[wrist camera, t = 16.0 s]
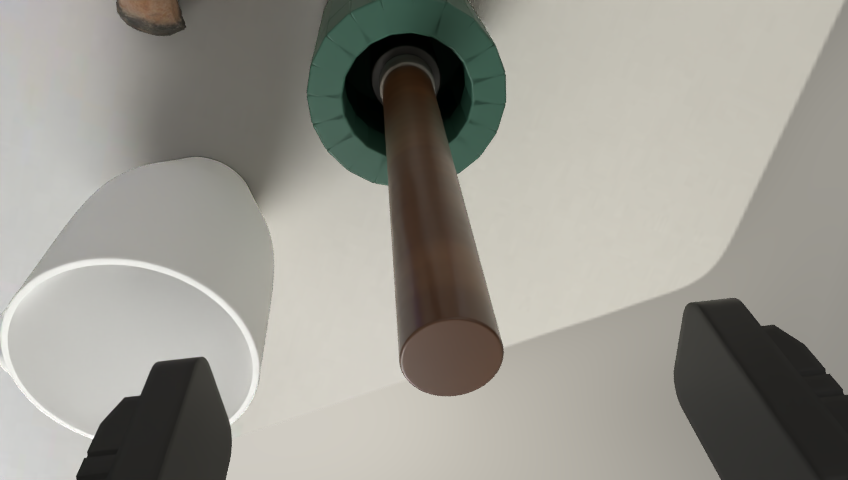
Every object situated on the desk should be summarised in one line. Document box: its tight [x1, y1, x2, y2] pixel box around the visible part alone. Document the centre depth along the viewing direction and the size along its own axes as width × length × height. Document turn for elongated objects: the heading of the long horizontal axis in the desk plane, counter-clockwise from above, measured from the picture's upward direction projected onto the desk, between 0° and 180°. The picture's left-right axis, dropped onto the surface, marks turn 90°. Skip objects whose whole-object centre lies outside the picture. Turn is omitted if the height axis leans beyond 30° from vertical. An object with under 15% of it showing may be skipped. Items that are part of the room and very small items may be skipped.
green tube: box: [307, 0, 506, 185], centre depth 26 cm, size 7×7×8 cm
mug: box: [0, 157, 274, 439], centre depth 28 cm, size 12×9×12 cm
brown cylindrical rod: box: [370, 33, 504, 396], centre depth 20 cm, size 3×3×21 cm
